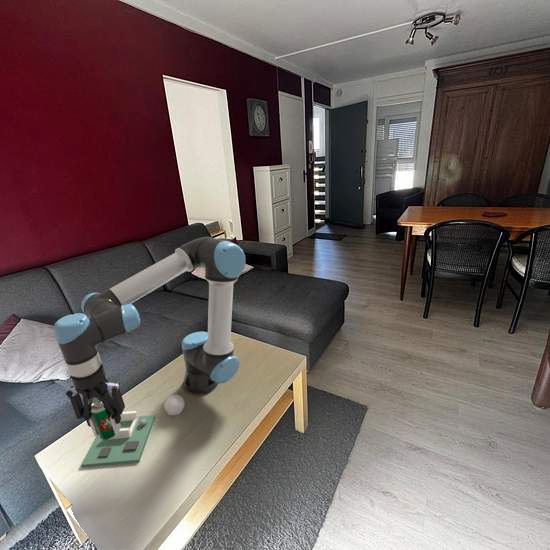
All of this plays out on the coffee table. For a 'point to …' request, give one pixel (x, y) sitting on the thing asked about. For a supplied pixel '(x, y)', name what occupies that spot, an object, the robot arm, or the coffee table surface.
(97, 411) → the soda can
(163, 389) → the coffee table surface
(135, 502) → the coffee table surface
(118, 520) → the coffee table surface
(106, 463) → the board
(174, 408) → the seamed sphere
